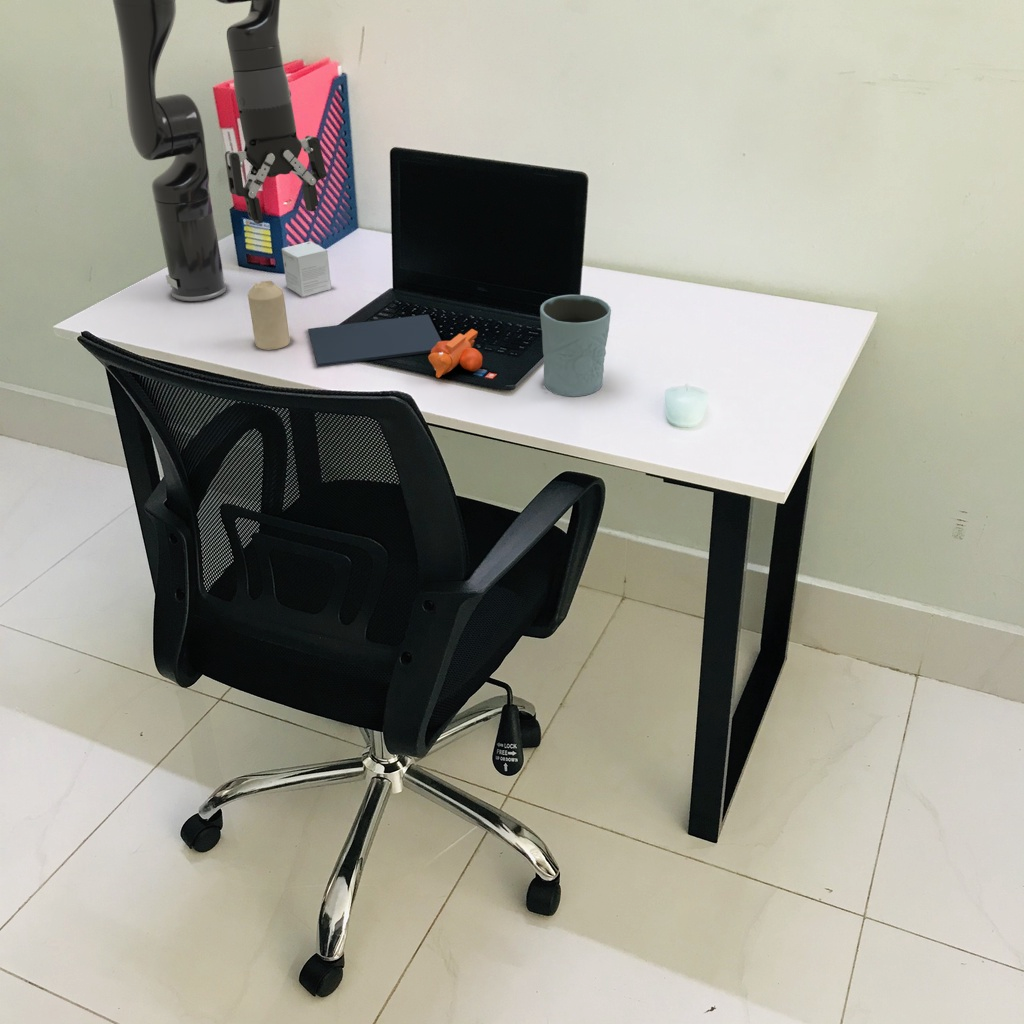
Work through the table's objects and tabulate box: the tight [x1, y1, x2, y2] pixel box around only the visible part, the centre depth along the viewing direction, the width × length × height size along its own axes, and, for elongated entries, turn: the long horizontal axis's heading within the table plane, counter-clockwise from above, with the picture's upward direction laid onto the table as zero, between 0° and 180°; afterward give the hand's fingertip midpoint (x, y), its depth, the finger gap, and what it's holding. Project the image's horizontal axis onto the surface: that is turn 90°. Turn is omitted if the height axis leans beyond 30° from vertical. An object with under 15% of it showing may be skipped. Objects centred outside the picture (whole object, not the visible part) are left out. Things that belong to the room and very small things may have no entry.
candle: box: [247, 280, 291, 351], centre depth 177 cm, size 6×6×10 cm
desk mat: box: [307, 314, 442, 368], centre depth 179 cm, size 14×20×1 cm
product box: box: [281, 240, 332, 298], centre depth 197 cm, size 6×6×7 cm
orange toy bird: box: [427, 328, 483, 378], centre depth 169 cm, size 5×8×12 cm
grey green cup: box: [539, 294, 612, 397], centre depth 162 cm, size 10×10×12 cm
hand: (284, 216), depth 165 cm, fingers open, 8 cm apart
